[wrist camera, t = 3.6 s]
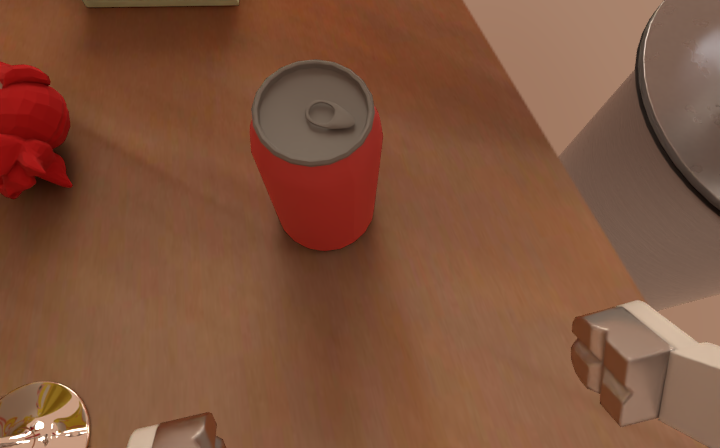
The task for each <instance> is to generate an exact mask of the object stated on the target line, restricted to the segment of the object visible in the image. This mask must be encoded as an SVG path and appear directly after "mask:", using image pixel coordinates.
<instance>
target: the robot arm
mask: <svg viewBox="0 0 720 448" xmlns="http://www.w3.org/2000/svg"><path fill="white" fill-rule="evenodd" d="M572 332H573V333H574V334H575V335H576V336H577V340H576V341H575V342H574V344H573V345H572V347H571V360H572V364H573V367H574V370H575V372H576V374H577V376H578V377H579V379H580V381H581V382H582V383H583V384H584V385H585V387H586V388H587V389H590V390H592V391H594V392H597V393H599V394H600V404H601V405H602V406H603V407H604V409H605V410H606V411H607V412H608V413H609V414H610V416H611V417H612V418H613V419H614V420H615V421H616V422H617V424H618V425H619V426H620V427H624V426H628V425H632V424H636V423H640V422H644V421H648V420H652V419H655V418H659V419H658V420H660V421H661V422H663V423H665V424H667V425H669V426H671V427H673V428H674V429H676V430H678V431H680V432H682V433H684V434H685V435H687V436H689V437H691V438H693V439H695V440H697V441H698V442H700V443H702V444H704V445H706V446H708V447H709V448H720V346H717V345H714V344H711V343H707V342H704V343H700V344H699V343H698V342H697V341H695V340H694V339H692V338H691V337H690V336H689V335H687V334H686V333H685V332H683V331H682V330H681V329H679V328H678V327H677V326H675V325H674V324H672V323H671V322H670V321H669V320H668V319H666V318H665V317H663V316H662V315H661V314H660V313H658V312H657V311H656V310H654V309H653V308H652V307H650V306H649V305H648V304H646V303H645V302H642V301H639V300H636V301H633V302H629V303H625V304H622V305H618V306H616V307H612V308H608V309H604V310H600V311H597V312H593V313H589V314H585V315H582V316H578V317H575V319H574V321H573V324H572ZM216 429H217V423H216V421H215V419H214V417H213V415H212V413H210V412H206V413H202V414H198V415H193V416H189V417H185V418H181V419H176V420H172V421H168V422H163V423H160V424H158V425H153V426H149V427H144V428H140V429H136V430H135V431H134V432H133V433H132V435H131V436H130V439H129V442H128V445H127V448H226V446H225V443H224V441H223V439H221V438H219V437H218V436H216Z"/></svg>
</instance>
